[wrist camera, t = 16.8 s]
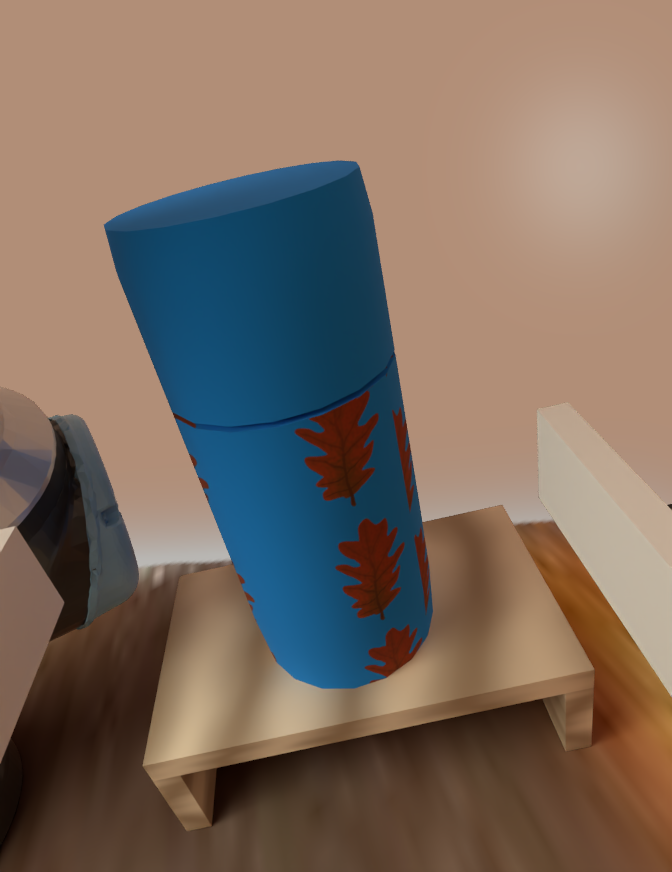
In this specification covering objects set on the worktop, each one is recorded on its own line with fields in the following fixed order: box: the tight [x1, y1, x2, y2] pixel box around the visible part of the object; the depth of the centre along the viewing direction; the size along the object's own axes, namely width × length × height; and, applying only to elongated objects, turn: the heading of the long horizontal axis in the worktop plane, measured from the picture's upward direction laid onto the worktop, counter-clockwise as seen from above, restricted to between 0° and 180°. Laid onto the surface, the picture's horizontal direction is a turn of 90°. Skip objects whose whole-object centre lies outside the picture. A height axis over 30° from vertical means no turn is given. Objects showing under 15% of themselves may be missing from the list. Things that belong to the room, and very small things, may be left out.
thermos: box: [104, 161, 433, 689], centre depth 30 cm, size 11×11×25 cm
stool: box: [143, 505, 595, 831], centre depth 38 cm, size 24×14×7 cm, turn 96°
